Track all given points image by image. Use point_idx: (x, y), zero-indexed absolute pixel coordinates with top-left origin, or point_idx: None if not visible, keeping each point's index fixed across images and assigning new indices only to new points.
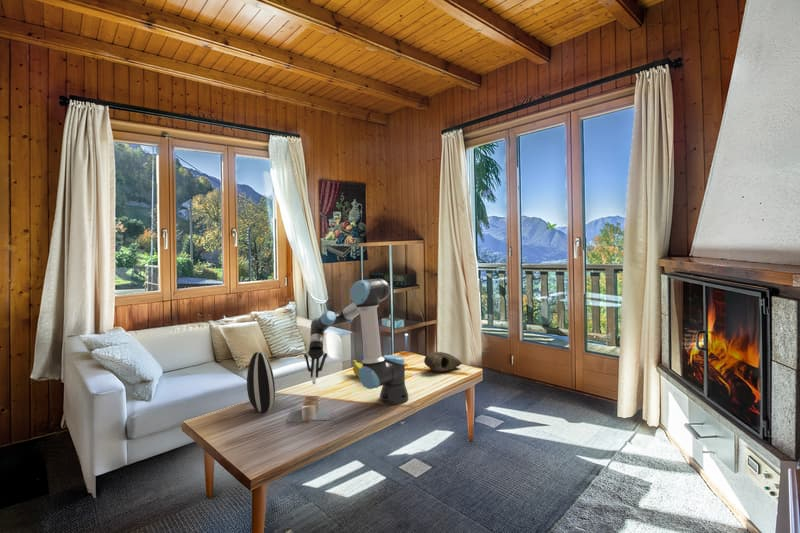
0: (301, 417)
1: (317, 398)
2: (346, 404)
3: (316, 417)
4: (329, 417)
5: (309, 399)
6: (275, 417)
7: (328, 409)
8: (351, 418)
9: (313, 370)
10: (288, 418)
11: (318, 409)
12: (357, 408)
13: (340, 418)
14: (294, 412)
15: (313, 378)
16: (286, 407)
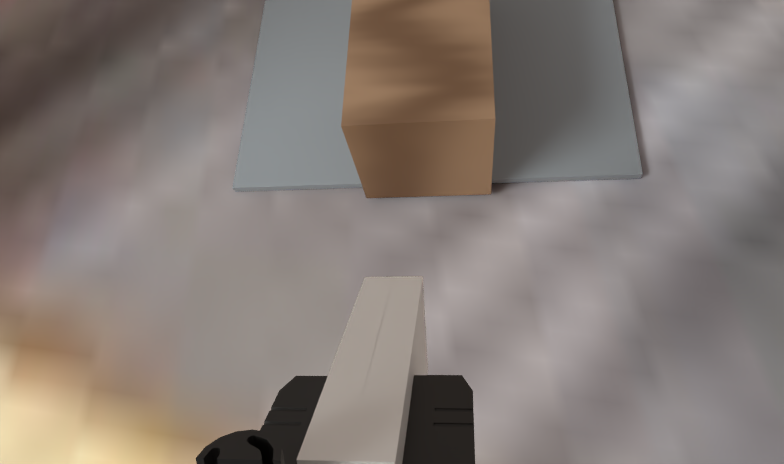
0: (497, 17)
1: (347, 86)
2: (91, 266)
3: None
4: (268, 13)
5: (434, 37)
6: (750, 46)
7: (269, 147)
8: (116, 13)
9: (378, 461)
10: (609, 6)
11: None
12: (24, 169)
13: (192, 15)
14: (590, 108)
15: (393, 308)
16: (736, 258)
